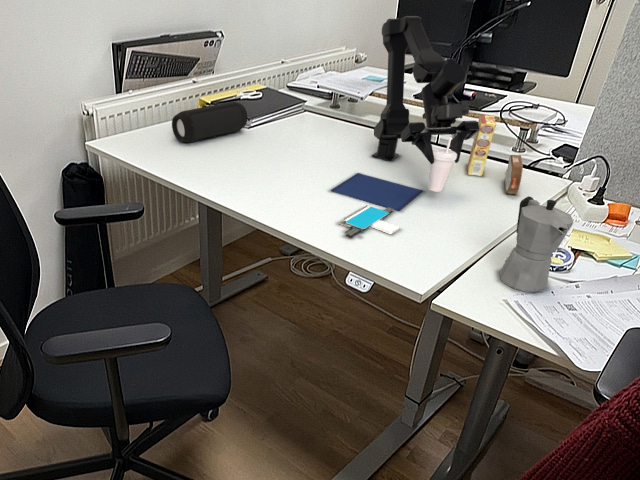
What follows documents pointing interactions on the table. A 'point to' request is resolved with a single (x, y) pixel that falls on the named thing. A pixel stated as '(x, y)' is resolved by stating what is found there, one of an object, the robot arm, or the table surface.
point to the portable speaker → (209, 122)
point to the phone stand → (368, 221)
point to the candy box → (481, 145)
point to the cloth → (377, 191)
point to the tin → (513, 174)
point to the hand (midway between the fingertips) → (444, 162)
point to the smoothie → (441, 167)
